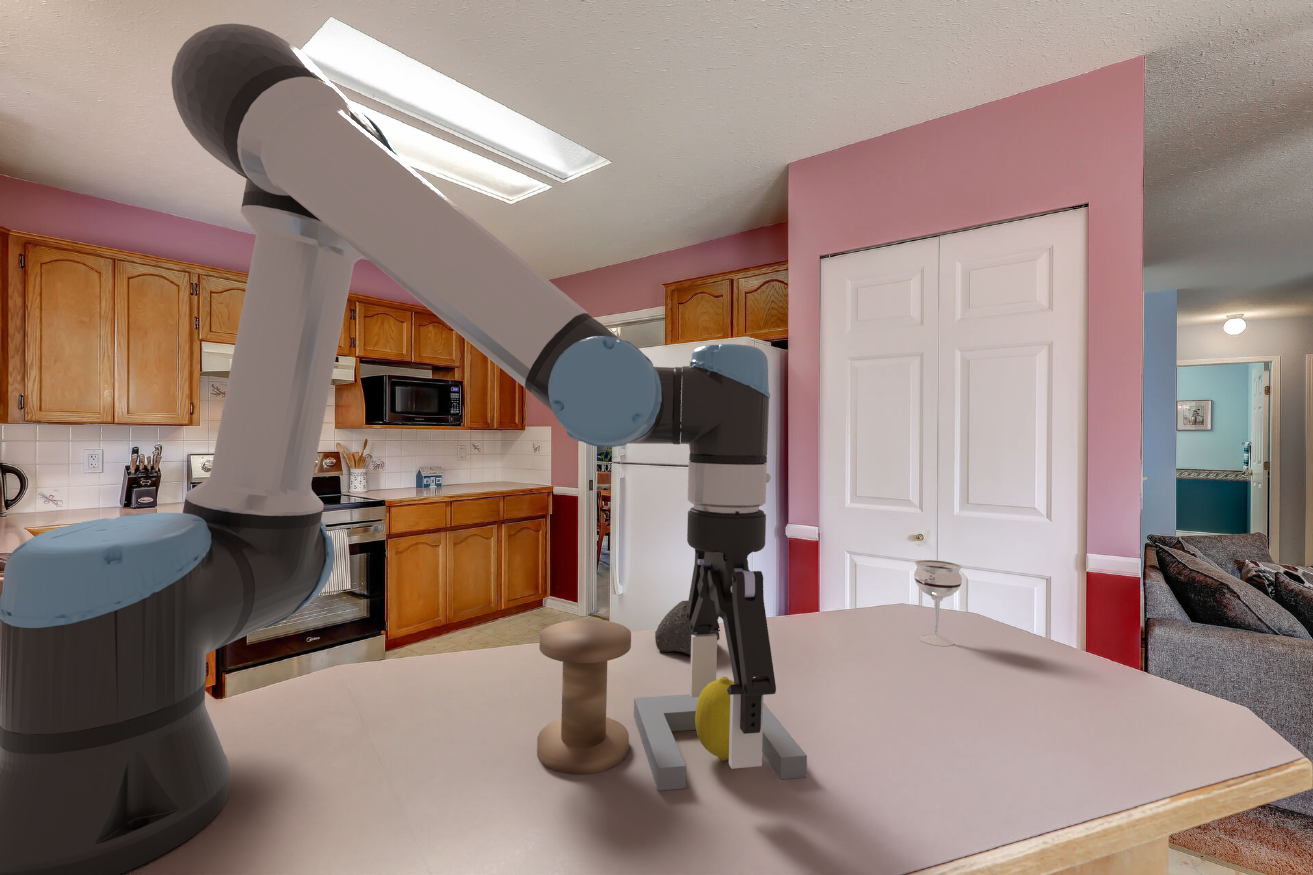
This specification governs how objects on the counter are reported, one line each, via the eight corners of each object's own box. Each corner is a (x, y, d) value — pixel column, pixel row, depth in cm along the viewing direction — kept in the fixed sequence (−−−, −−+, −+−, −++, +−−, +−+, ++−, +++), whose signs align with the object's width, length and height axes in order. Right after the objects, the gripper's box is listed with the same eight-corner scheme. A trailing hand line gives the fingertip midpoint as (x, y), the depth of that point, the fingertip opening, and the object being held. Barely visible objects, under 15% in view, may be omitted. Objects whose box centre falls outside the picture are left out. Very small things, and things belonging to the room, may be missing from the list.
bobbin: (536, 778, 53) (539, 652, 53) (537, 728, 62) (540, 621, 62) (634, 769, 55) (637, 647, 55) (622, 723, 64) (624, 618, 64)
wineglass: (959, 637, 94) (960, 562, 94) (961, 650, 88) (963, 571, 88) (912, 630, 97) (914, 558, 97) (912, 643, 91) (914, 566, 91)
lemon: (751, 779, 54) (752, 692, 54) (690, 772, 55) (692, 686, 55) (753, 748, 59) (754, 668, 59) (698, 741, 60) (699, 663, 60)
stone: (657, 663, 91) (635, 632, 84) (684, 616, 95) (665, 583, 89) (712, 689, 85) (693, 658, 79) (738, 638, 89) (722, 605, 83)
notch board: (657, 790, 52) (658, 767, 52) (633, 715, 65) (634, 697, 65) (806, 776, 54) (806, 755, 54) (753, 707, 68) (753, 690, 68)
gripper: (822, 526, 45) (816, 801, 45) (724, 494, 70) (720, 672, 70) (729, 527, 44) (722, 810, 44) (663, 493, 68) (658, 675, 68)
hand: (721, 726), depth 57 cm, fingers open, 13 cm apart
